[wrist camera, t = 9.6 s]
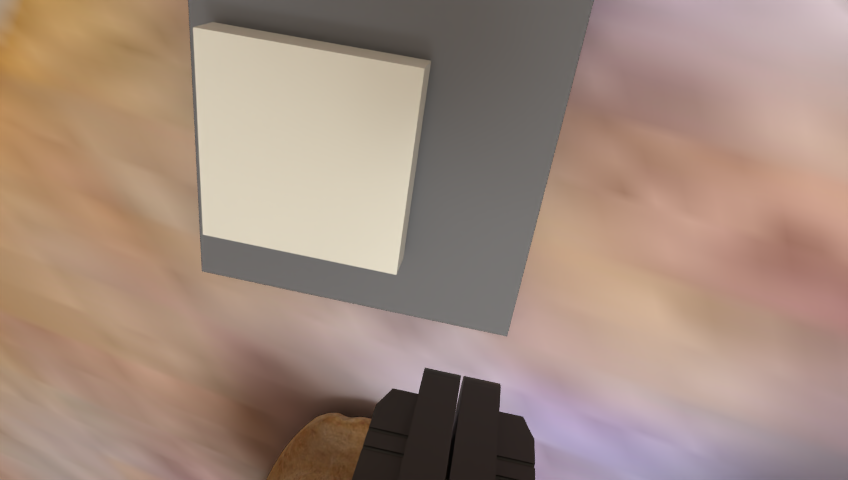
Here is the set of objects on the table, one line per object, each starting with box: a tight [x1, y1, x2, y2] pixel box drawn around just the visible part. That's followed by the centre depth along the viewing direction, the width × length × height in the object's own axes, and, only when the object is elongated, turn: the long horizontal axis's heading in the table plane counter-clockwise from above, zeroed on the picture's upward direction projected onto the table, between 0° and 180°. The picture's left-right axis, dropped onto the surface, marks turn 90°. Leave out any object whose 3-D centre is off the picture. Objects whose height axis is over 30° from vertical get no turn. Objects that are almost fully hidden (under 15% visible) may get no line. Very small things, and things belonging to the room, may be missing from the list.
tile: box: [193, 22, 431, 275], centre depth 22 cm, size 2×8×8 cm
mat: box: [188, 0, 594, 336], centre depth 23 cm, size 14×14×1 cm
